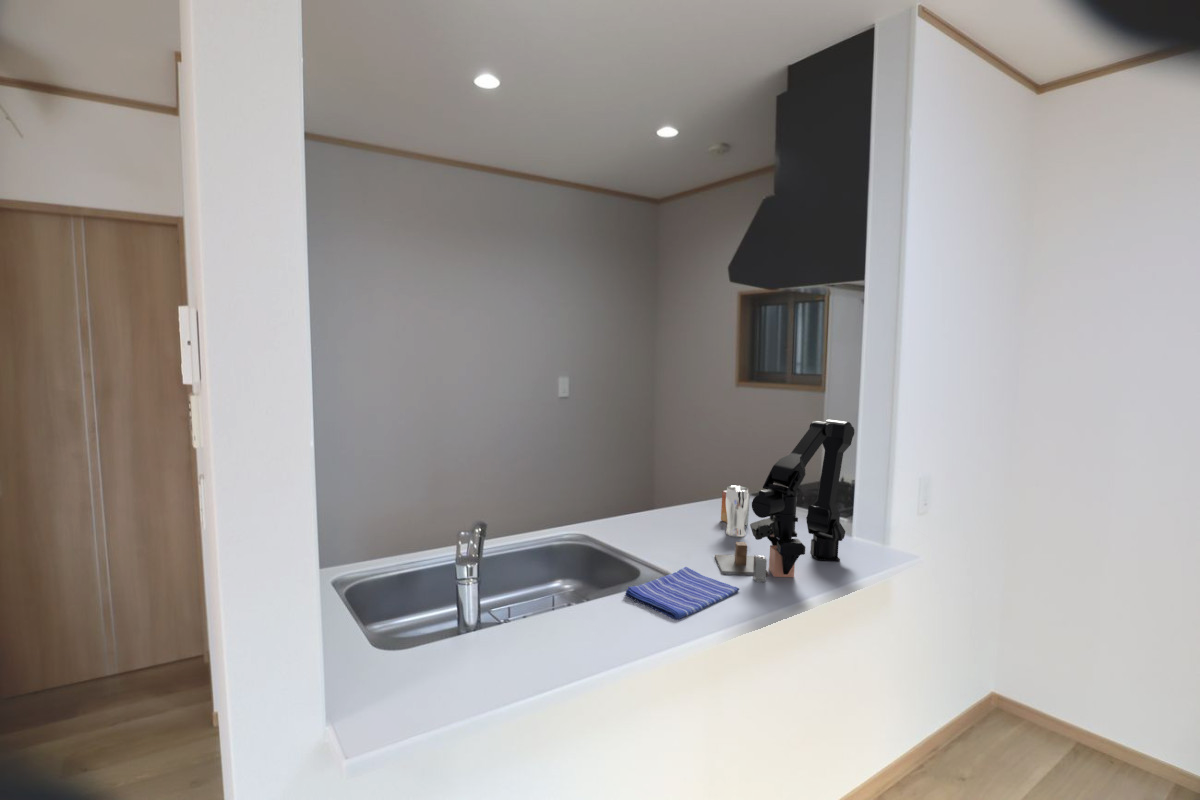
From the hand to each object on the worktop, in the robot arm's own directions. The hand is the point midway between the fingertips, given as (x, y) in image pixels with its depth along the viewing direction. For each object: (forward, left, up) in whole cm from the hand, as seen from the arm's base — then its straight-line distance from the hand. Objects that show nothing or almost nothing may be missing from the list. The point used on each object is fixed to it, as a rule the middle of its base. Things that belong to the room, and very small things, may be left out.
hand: (781, 568), depth 156 cm
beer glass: (+6, -31, -2) cm, 32 cm away
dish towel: (+28, +15, -2) cm, 32 cm away
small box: (+4, -43, -2) cm, 43 cm away
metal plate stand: (+10, -4, -1) cm, 11 cm away
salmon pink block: (0, 0, -1) cm, 1 cm away
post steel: (+7, +5, -1) cm, 9 cm away
